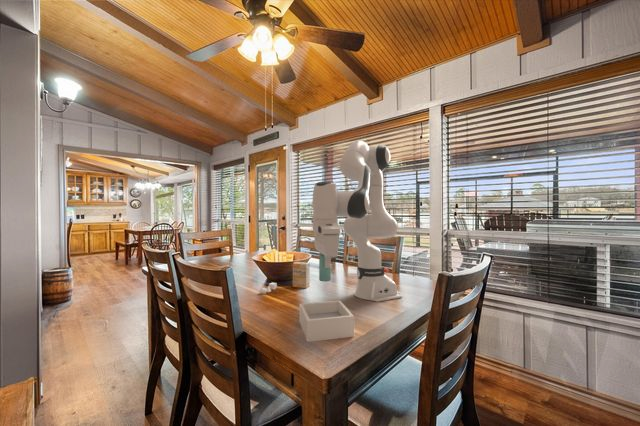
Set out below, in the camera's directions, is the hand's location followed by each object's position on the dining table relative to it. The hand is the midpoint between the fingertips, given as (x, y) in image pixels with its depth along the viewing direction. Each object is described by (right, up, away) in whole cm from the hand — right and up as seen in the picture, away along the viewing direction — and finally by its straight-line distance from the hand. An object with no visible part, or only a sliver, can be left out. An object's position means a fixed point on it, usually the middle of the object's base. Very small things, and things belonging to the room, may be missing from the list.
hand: (325, 265), depth 102 cm
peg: (0, -5, 0) cm, 5 cm away
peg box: (0, -23, +1) cm, 23 cm away
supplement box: (-12, -21, +52) cm, 58 cm away
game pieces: (-28, -22, +45) cm, 57 cm away
